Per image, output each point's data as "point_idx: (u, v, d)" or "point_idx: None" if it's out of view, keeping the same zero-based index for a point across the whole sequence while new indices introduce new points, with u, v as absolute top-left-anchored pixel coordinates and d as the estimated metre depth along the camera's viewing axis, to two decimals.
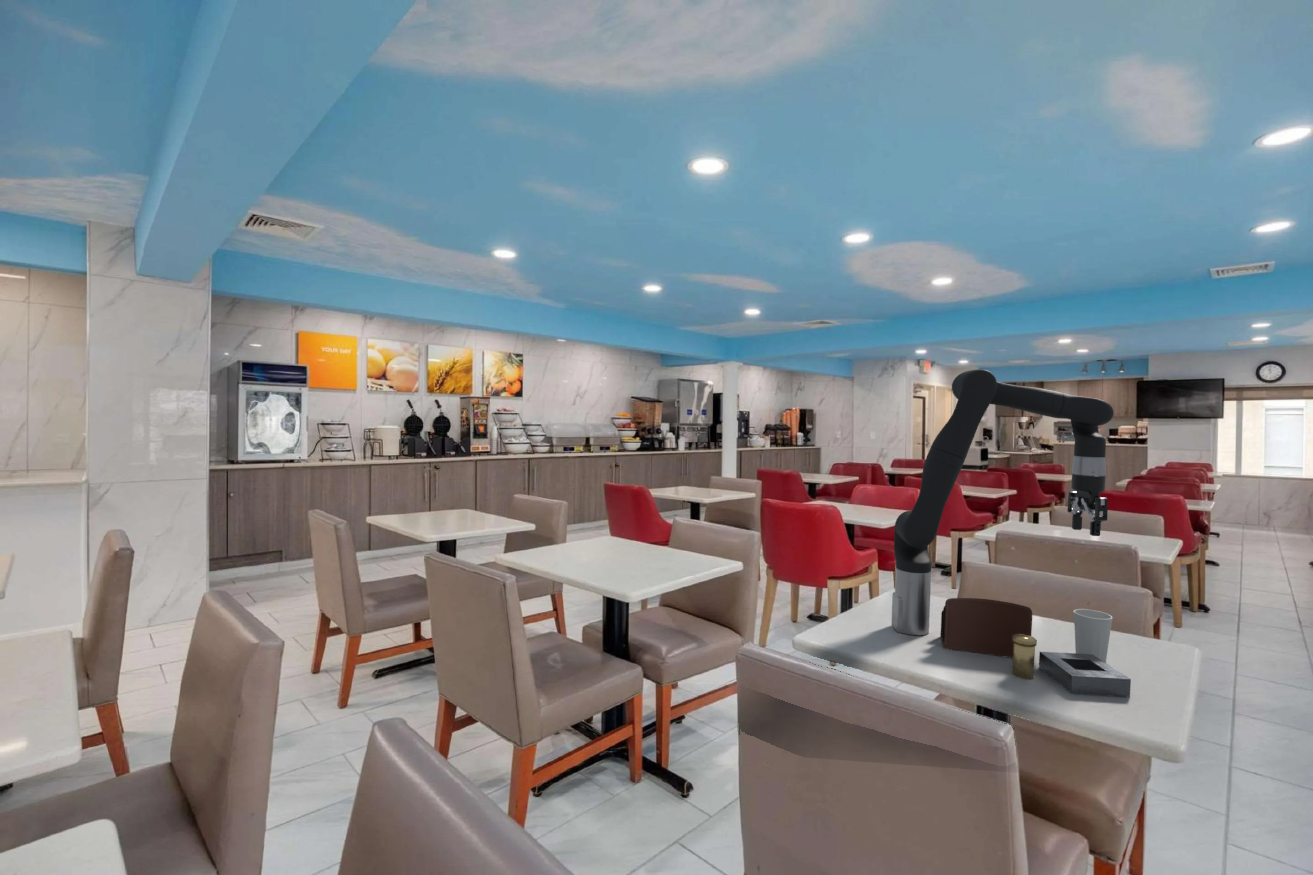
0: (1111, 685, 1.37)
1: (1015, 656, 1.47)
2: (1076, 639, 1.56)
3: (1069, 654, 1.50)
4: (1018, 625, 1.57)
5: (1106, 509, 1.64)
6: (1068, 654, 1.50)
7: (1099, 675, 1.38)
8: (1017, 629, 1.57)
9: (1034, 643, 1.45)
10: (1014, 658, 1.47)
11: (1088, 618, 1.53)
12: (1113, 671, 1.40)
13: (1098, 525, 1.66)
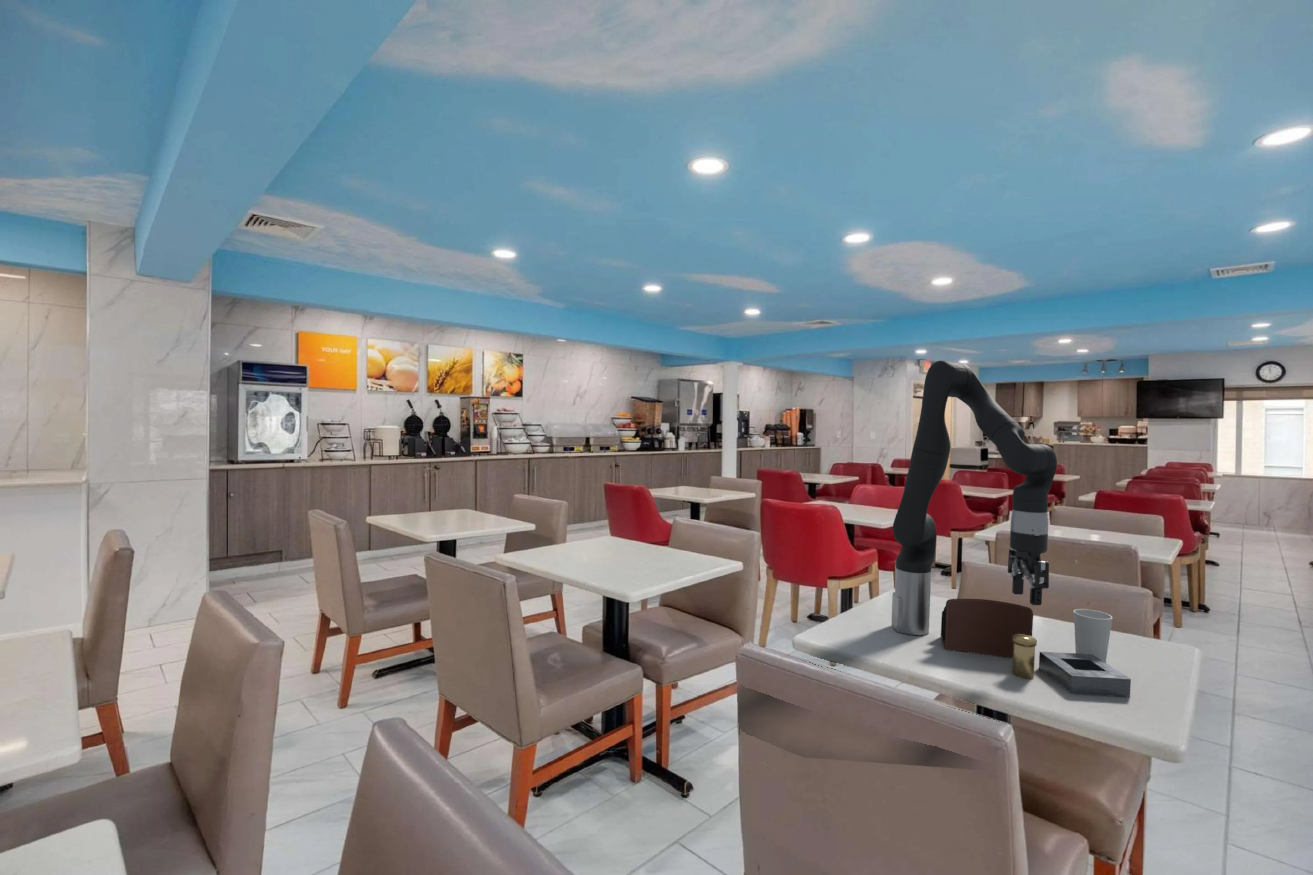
0: (1111, 685, 1.37)
1: (1015, 656, 1.47)
2: (1076, 639, 1.56)
3: (1069, 654, 1.50)
4: (1019, 625, 1.57)
5: (1047, 575, 1.39)
6: (1068, 654, 1.50)
7: (1099, 675, 1.38)
8: (1018, 630, 1.57)
9: (1034, 643, 1.45)
10: (1014, 658, 1.47)
11: (1088, 618, 1.53)
12: (1113, 671, 1.40)
13: (1039, 593, 1.41)
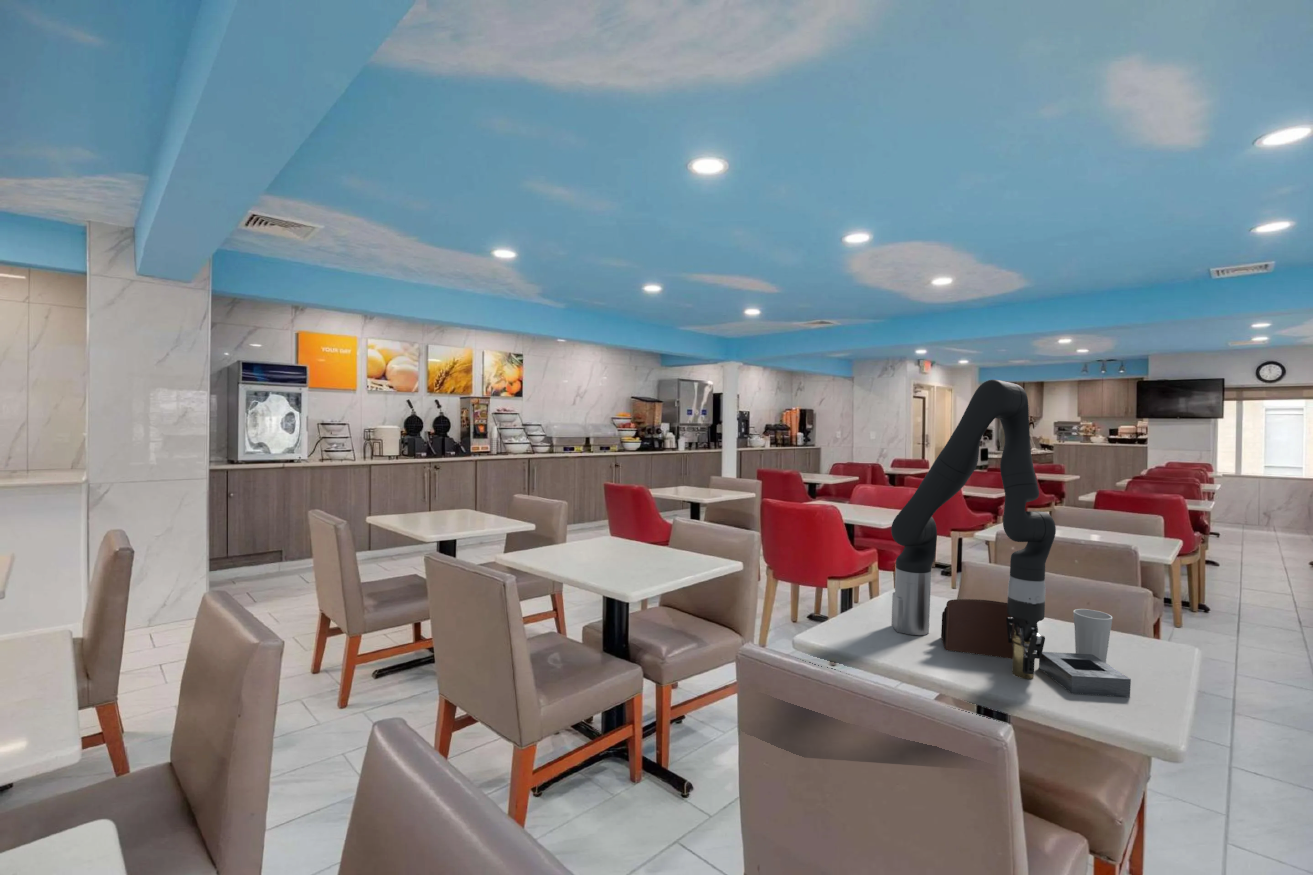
0: (1111, 685, 1.37)
1: (1015, 656, 1.47)
2: (1076, 639, 1.56)
3: (1069, 654, 1.50)
4: None
5: (1041, 648, 1.41)
6: (1068, 654, 1.50)
7: (1099, 675, 1.38)
8: None
9: None
10: (1014, 657, 1.47)
11: (1088, 618, 1.53)
12: (1113, 671, 1.40)
13: (1031, 662, 1.44)
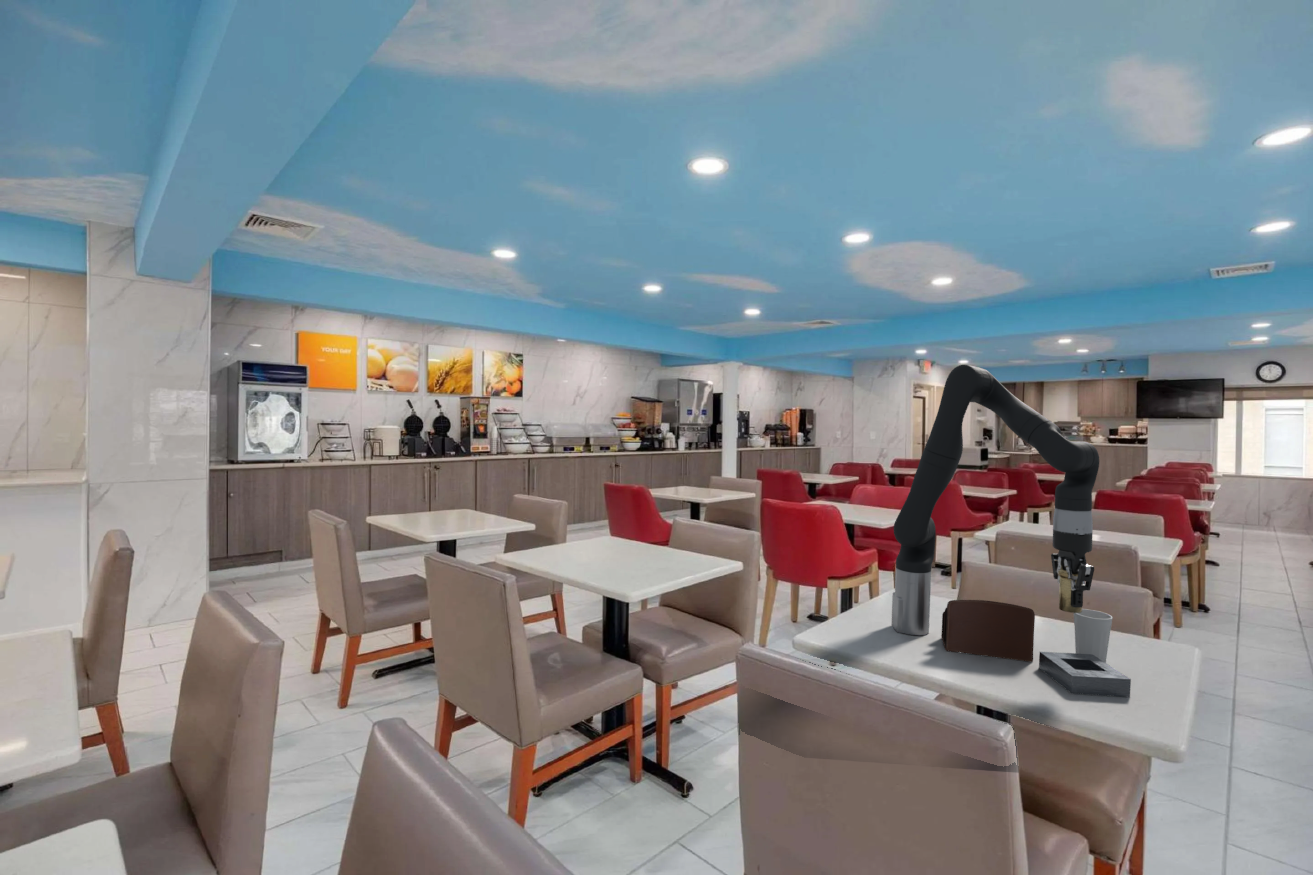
0: (1111, 685, 1.37)
1: (1062, 590, 1.43)
2: (1076, 639, 1.56)
3: (1069, 654, 1.50)
4: (1021, 626, 1.56)
5: (1090, 579, 1.37)
6: (1068, 654, 1.50)
7: (1099, 675, 1.38)
8: (1020, 631, 1.56)
9: None
10: (1061, 592, 1.43)
11: (1088, 618, 1.53)
12: (1113, 671, 1.40)
13: (1080, 595, 1.40)
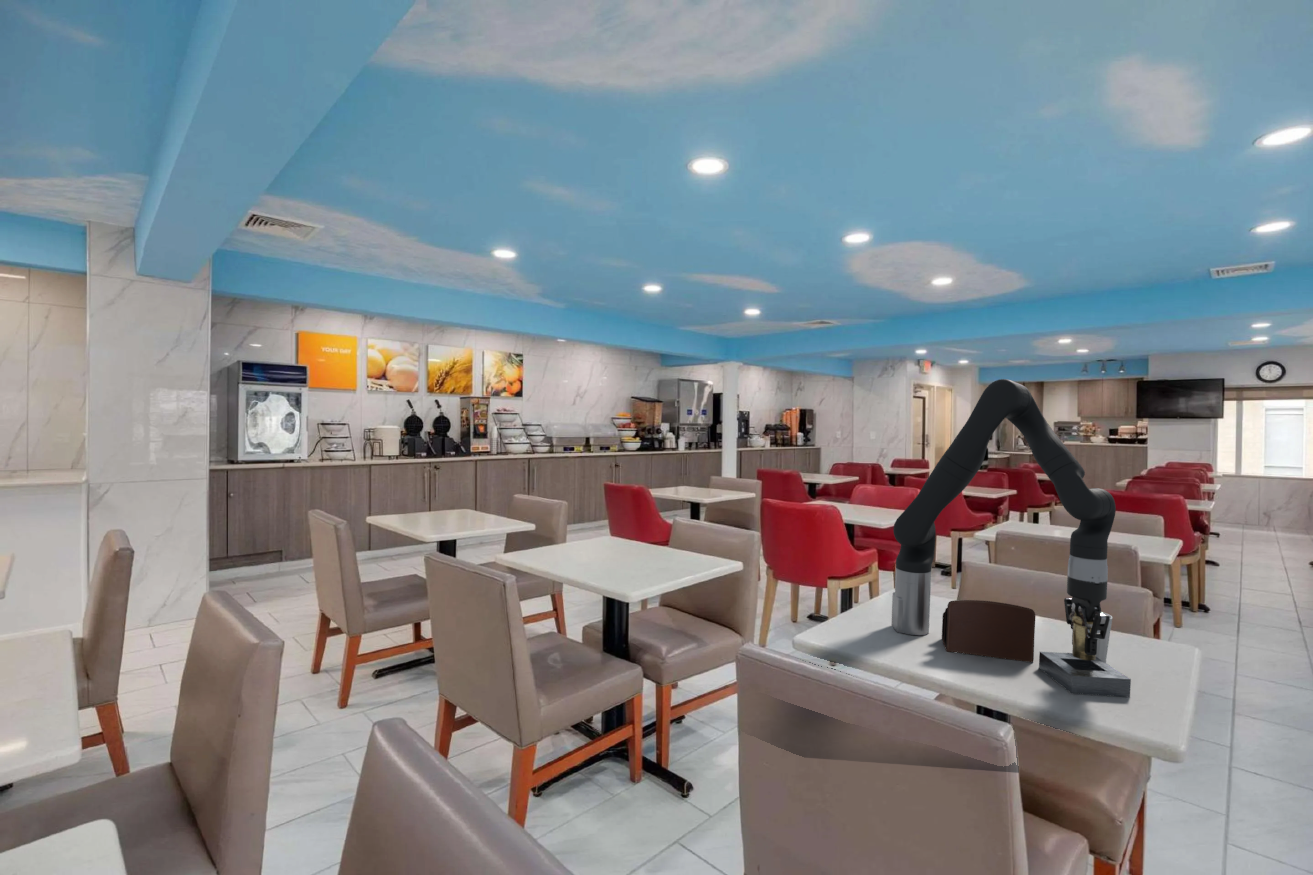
0: (1111, 685, 1.37)
1: (1076, 637, 1.43)
2: None
3: (1069, 654, 1.50)
4: (1021, 627, 1.56)
5: (1105, 628, 1.37)
6: (1068, 654, 1.50)
7: (1099, 675, 1.38)
8: (1020, 631, 1.56)
9: None
10: (1075, 639, 1.44)
11: None
12: (1113, 671, 1.40)
13: (1094, 643, 1.40)
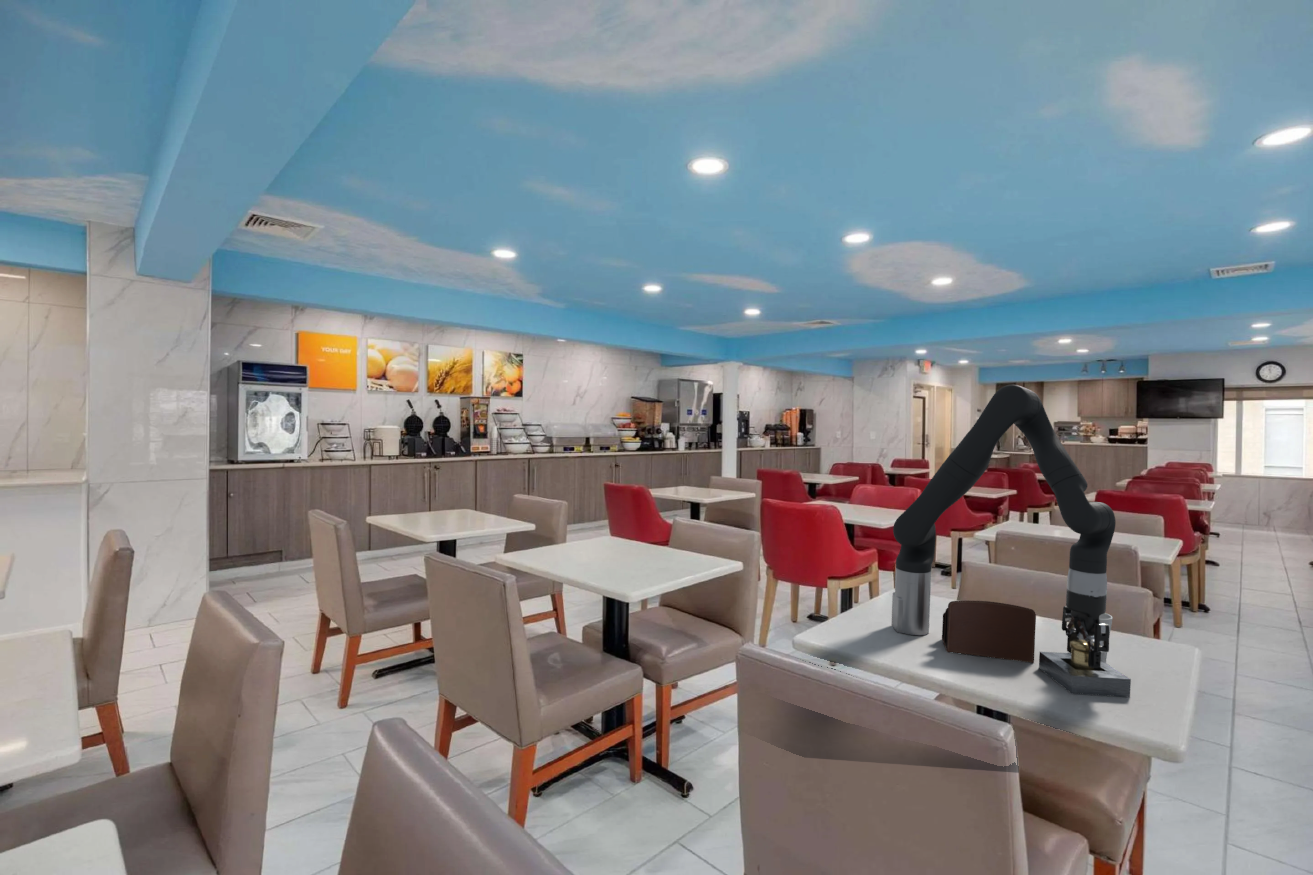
0: (1111, 685, 1.37)
1: (1074, 662, 1.44)
2: None
3: (1069, 654, 1.50)
4: (1022, 627, 1.55)
5: (1107, 638, 1.37)
6: (1068, 654, 1.50)
7: (1099, 675, 1.38)
8: (1021, 632, 1.55)
9: None
10: (1073, 664, 1.44)
11: None
12: (1113, 671, 1.40)
13: (1098, 656, 1.39)
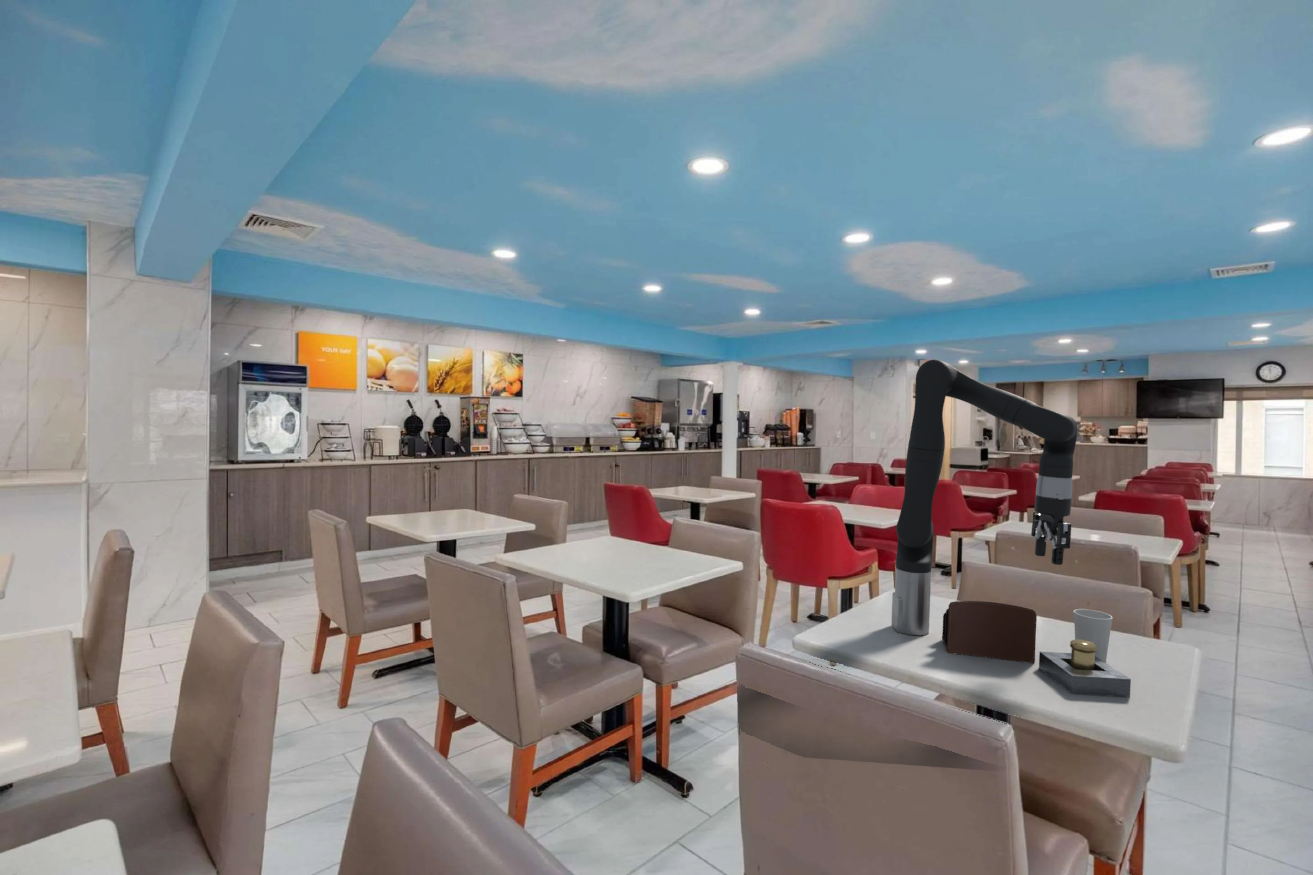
0: (1111, 685, 1.37)
1: (1074, 662, 1.44)
2: None
3: (1069, 654, 1.50)
4: (1023, 628, 1.55)
5: (1069, 536, 1.48)
6: (1068, 654, 1.50)
7: (1099, 675, 1.38)
8: (1022, 632, 1.55)
9: (1094, 649, 1.42)
10: (1073, 664, 1.44)
11: (1088, 618, 1.53)
12: (1113, 671, 1.40)
13: (1060, 553, 1.50)
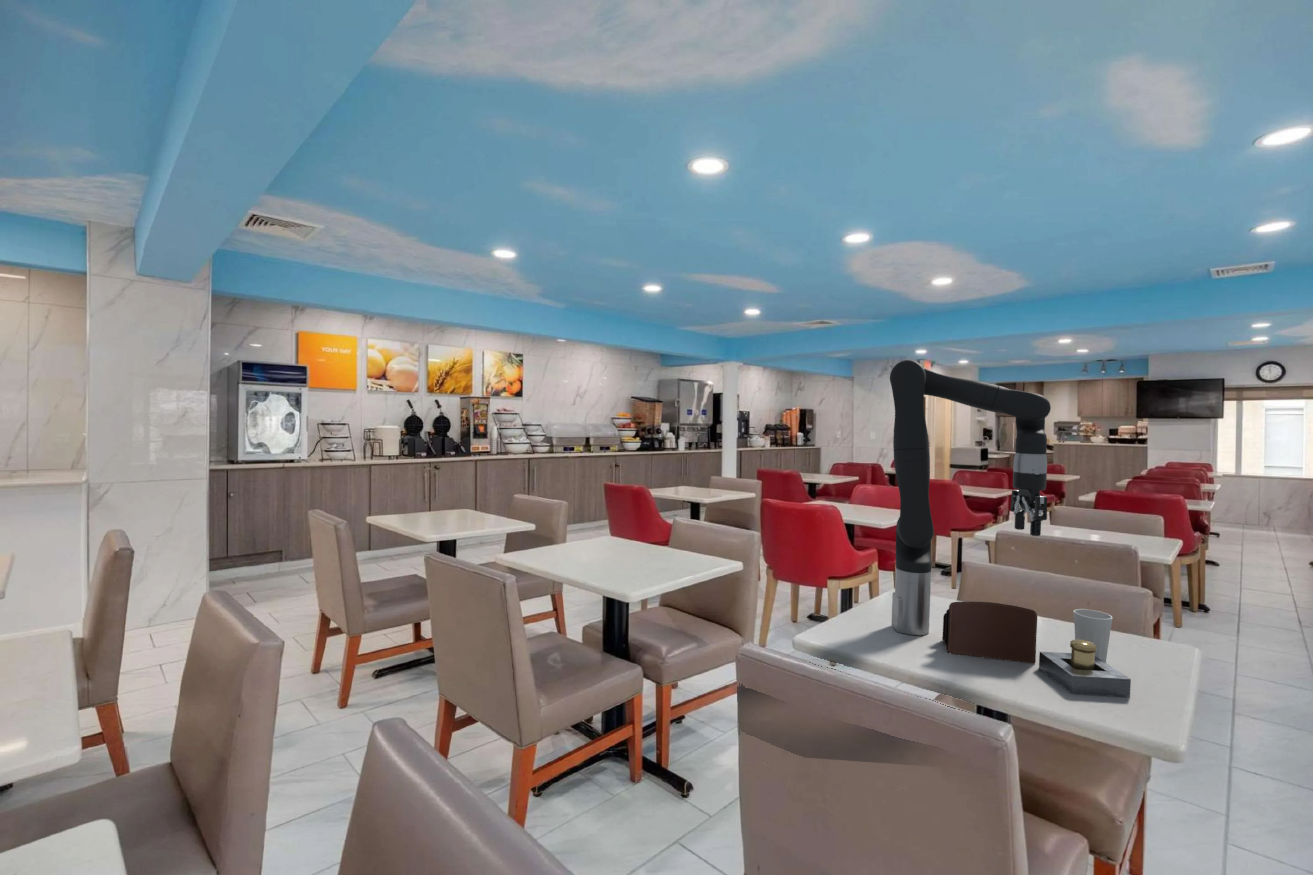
0: (1111, 685, 1.37)
1: (1074, 662, 1.44)
2: None
3: (1069, 654, 1.50)
4: (1023, 628, 1.55)
5: (1046, 508, 1.58)
6: (1068, 654, 1.50)
7: (1099, 675, 1.38)
8: (1022, 632, 1.55)
9: (1094, 649, 1.42)
10: (1073, 664, 1.44)
11: (1088, 618, 1.53)
12: (1113, 671, 1.40)
13: (1038, 525, 1.60)
